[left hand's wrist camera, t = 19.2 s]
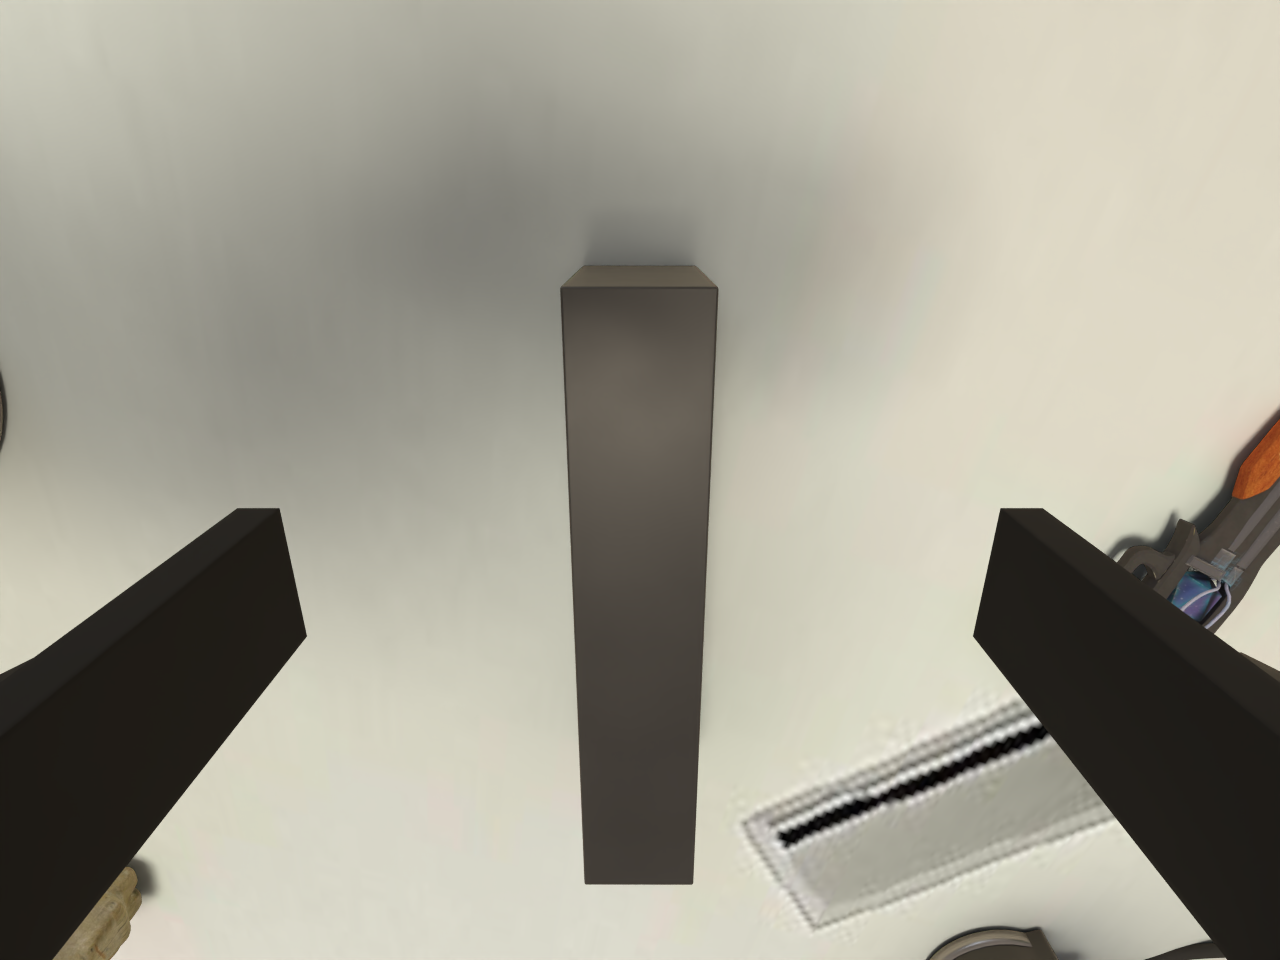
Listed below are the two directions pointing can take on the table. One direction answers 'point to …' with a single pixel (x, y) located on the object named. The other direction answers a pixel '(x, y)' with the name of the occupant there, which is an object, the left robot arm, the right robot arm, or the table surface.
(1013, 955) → the right robot arm
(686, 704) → the bar
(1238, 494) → the toy gun
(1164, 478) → the table surface
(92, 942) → the sculpture
